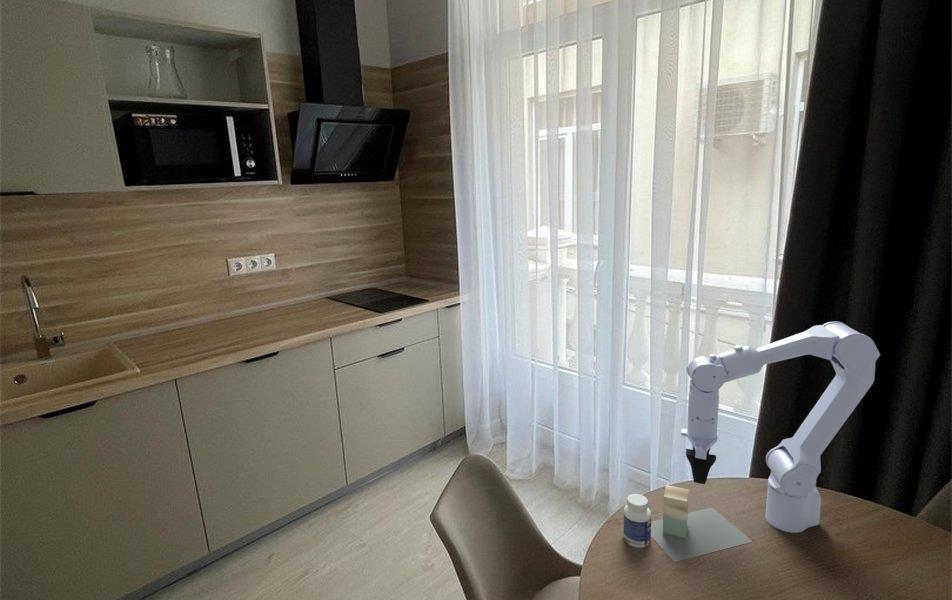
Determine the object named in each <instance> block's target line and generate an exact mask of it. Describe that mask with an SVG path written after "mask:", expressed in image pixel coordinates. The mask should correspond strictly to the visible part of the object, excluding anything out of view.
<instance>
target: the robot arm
mask: <svg viewBox="0 0 952 600" xmlns="http://www.w3.org/2000/svg"><path fill="white" fill-rule="evenodd" d="M806 355H807V356H808V355H810V356H814V357H818V358H821V359H825V360H827V361H830V362H831V365H832V367H833V369H834V371H835V376H834V377H833V379H832V380H831V382H830V383H829V384H828V386H827V387H826V389H825V390H824V392H823V393H822V394H821V396H820V398H819V399H818V400H817V402H816V403H815V405H814V406H813V407H812V409H811V410H810V412H809V413H808V415H807V416H806V417H805V419H804V420H803V422H802V423H801V425H800V426H799V427H798V429H797V430H796V432H795V433H794V434H793V436H792V437H789V438H785V439H784V438H783V439H782V440H781V442H780V443H779V444H778V445H777V446H775V447H773V448H771V449H770V450H769V451H768V452H767V453H766V456H765V462H766V466H767V467H768V469H770V475H769V476H768V479H767V492H766V493H767V494H766V504H765V516H764V517H765V520H766V522H767V523H768V524H770V525H771V526H772V527H774V528H775V529H778V530H779V531H783V532H785V533H792V534H793V533H802V532H804V531H805V530H806V529H808V528H811V527H812V528H813V527H815V526H818V525H819V524H820V514H821V507H822V506H821V505H822V498H821V494H820V492H819V490H818V489H817V487H816V486H817V479H818V476H819V475H820V474H821V472H822V471H821V470H822V466H821V455H822V454H823V453H824V451H825V450H826V449H827V447H828V446H829V444H830V443H831V441H832V440H833V439H834V438H835V436H836V435H837V433H838V432H839V430H840V429H841V428H842V426H844V424H845V422H846V421H847V420H848V418H849V417H850V415H851V414H852V413H853V412H854V410H855V408H856V407H857V406H858V404H859V403H860V402H861V400H862V399H863V398H864V396H865V395H866V393H868V391H869V390H870V388H871V387H872V385H874V383H875V382H874V381H875V372H876V363H877V360H878V359H879V358H880V356H881V353H880V352H879V349H878V348H877V345H876V344H875V342H874V340H873V339H872V338H871V337H870V336H868V335H866V334H865V333H864V334H863V333H860V332H859V331H857V330H855V329H854V328H851V327H850V326H849V325H847V324H845V323H844V322H841V321H829V322H826V323H824V324H819V325H818V324H817V325H813V326H812V327H810V328H808V329H806V330H804V331H803V332H799V333H796V334H794V335H791V336H788V337H785V338H783V339H780V340H776V341H774V342H772V343H768V344H766V345H762V346H760V347H758V348H755V347H752V346H749V345H741V344H737V345H734V346H733V349H731V350H728V351H725V352H722V353H719V354H715V353H712V354H709V357H708V356H706V357H705V356H703V355H702V356H697V357H695V358H693V359H692V360H691V361H690V362H689V364H688V366H687V367H686V372H687V373H686V374H687V375H688V377H689V378H690V380H689V387H688V388H689V391H688V402H687V425H686V426H687V427H686V428H681V431H680V435H681V436H683V437H686V438H687V440H689V442H690V444H691V446H692V449H691V448H690V449H689V448H686V450H685V457H686V459H687V460H688V463H689V465H690V468H691V475H692V480H693V482H694V483H695V484H701V485H706V483H707V479H708V476H709V473H710V470H711V468H712V466H713V465H714V464H715V463H716V461H717V455H715V454H711V453H710V451H711V448H712V447H713V446H714V445H715V444H716V443H717V442H718V440H719V435H718V425H719V424H718V423H719V422H718V421H719V406H720V404H719V402H720V395H719V394H720V393H719V392H720V389H721V388H722V387H723V385H724V384H725V383H729V382H731V381H734V380H739V379H742V378H745V377H749V376H752V375H756V374H759V373H760V372H761V370H762V369H763V367H764V366H765V365H769V364H772V363H777V362H782V361H786V360H789V359H793V358H798V357H803V356H806Z"/></svg>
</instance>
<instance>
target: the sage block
mask: <svg viewBox="0 0 952 600" xmlns="http://www.w3.org/2000/svg"><path fill="white" fill-rule="evenodd" d="M688 513H689V511H688V512H687V519H688ZM662 519H663V533H665V534H670V535H674V536H678V537H682V538H686V534H687V521H685V520H680V519H676V518H672V517H667V516H663V515H662Z"/></svg>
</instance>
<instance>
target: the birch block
mask: <svg viewBox="0 0 952 600" xmlns="http://www.w3.org/2000/svg"><path fill="white" fill-rule="evenodd" d="M689 492H690V489H687V488H682V487H679V486H673V485H667V484H666V485H665V488H664V494H663V510H662V511H663V515H662V517H663V516H667V517H672V518H676V519H680V520H685V521H687V512H688V513H689Z"/></svg>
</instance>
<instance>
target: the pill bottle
mask: <svg viewBox="0 0 952 600" xmlns="http://www.w3.org/2000/svg"><path fill="white" fill-rule="evenodd" d="M622 520H623V528H622V530H623V533H622V535H623V536H622V537H623V538H622V539H623V541H625V542H626V544H628V545H629V546H631V547H635V548H646V547H647V546H649V545H650V544H651V538H652V537H651V522H652V511H651V509H650V508H649V501H648V498H647V497H646V496H644V495H642V494H639V493H632V494H631V493H630V494H629V495H628V496H627V499H626V504H625V506H624V508H623V519H622Z"/></svg>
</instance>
